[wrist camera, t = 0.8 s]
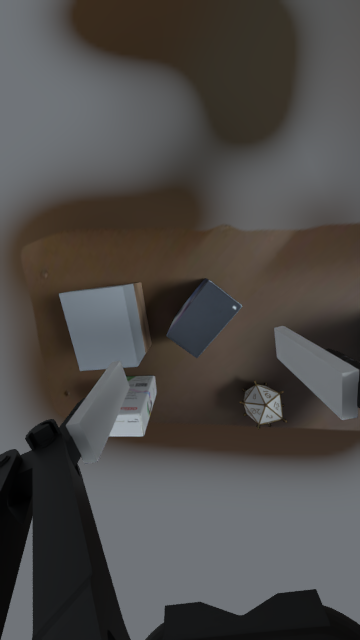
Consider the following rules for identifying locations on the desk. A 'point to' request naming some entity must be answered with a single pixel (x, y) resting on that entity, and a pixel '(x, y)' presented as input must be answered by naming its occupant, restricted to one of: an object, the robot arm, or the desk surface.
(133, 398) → the ink box
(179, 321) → the small box
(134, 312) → the grey slab
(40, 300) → the desk surface
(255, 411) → the game die
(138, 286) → the walnut slab
